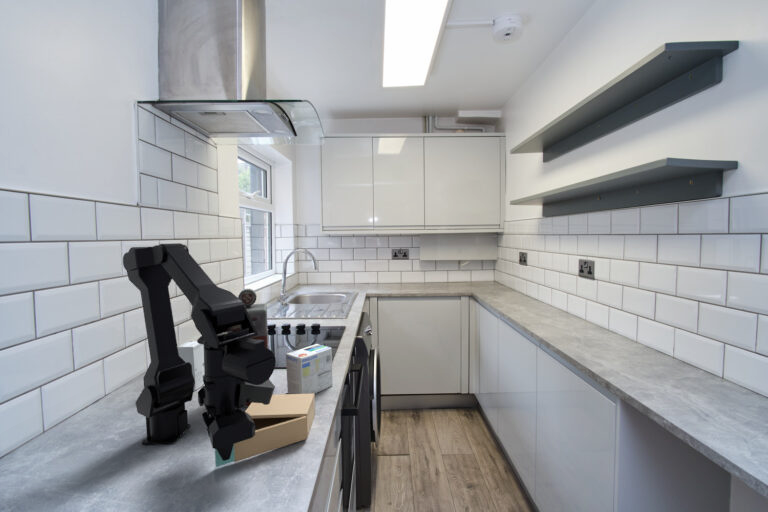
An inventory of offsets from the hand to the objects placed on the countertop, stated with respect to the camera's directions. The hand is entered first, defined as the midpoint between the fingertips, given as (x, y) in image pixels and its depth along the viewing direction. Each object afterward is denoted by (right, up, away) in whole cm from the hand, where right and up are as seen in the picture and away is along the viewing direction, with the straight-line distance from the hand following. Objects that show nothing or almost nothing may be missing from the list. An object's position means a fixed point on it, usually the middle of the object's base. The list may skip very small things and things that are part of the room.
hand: (225, 456), depth 61 cm
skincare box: (-25, -1, +34) cm, 42 cm away
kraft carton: (+6, -1, +13) cm, 14 cm away
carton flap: (+6, -1, +4) cm, 7 cm away
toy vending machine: (-5, -1, +26) cm, 26 cm away
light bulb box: (+8, 0, +31) cm, 32 cm away
